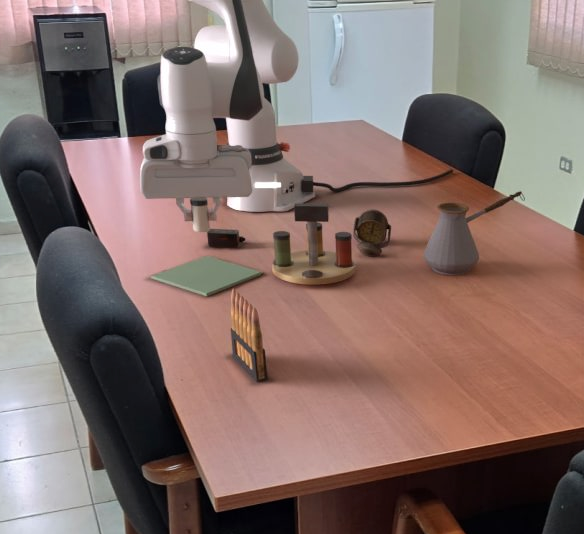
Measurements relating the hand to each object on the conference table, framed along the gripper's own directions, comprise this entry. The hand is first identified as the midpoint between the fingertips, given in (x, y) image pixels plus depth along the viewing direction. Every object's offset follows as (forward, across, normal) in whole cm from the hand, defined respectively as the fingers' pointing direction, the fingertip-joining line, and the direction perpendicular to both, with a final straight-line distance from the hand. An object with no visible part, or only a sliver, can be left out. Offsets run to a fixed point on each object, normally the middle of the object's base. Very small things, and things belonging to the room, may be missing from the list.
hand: (200, 220), depth 180 cm
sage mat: (+11, 0, 0) cm, 11 cm away
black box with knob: (+11, -4, -18) cm, 22 cm away
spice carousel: (+11, -21, +1) cm, 24 cm away
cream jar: (+2, 0, 0) cm, 2 cm away
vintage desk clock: (+11, -34, -14) cm, 39 cm away
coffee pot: (+11, -54, 0) cm, 55 cm away
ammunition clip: (+12, -7, +42) cm, 45 cm away
